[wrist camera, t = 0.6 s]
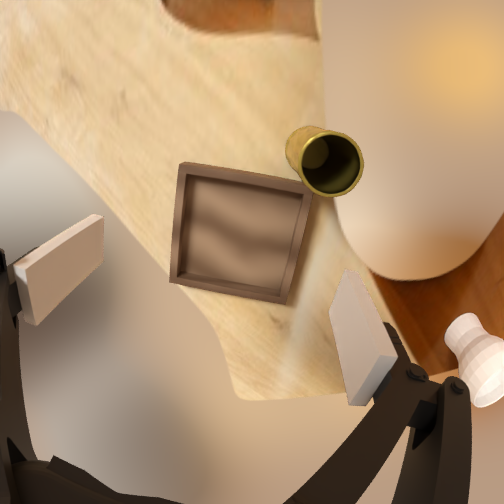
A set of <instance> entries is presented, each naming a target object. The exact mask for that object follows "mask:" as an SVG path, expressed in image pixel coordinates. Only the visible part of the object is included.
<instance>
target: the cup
mask: <svg viewBox="0 0 504 504" xmlns="http://www.w3.org/2000/svg"><path fill="white" fill-rule="evenodd" d="M444 340H445V343H446V345H447V346H448V347H449V348H450V349H451V351H452V352H453V353H454V354H455V355H456V357H457V360H458V362H459V369H458V373H459V379H461V380H463V382H465V383H466V385H467V386H468V388H469V391H470V401H471V402H472V403H473V404H474V405H475V406H476V407H485V406H488V405H490V404H492V403H494V402H496V401H497V400H499V399H500V398H501V397H502V396H504V340H503V339H501V338H499V337H497V336H493V335H490V334H489V333H487V332H486V331H485V330H484V329H483V327H482V325H481V323H480V321H479V319H478V318H477V316H476V315H475V314H473V313H465V314H463V315H461V316H459V317H458V318H456V319H455V320H454V321H453V322H452V323H451V324H450V326H449V327H448V329H447V331H446V333H445V338H444Z"/></svg>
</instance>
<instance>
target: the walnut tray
mask: <svg viewBox="0 0 504 504" xmlns="http://www.w3.org/2000/svg"><path fill="white" fill-rule="evenodd" d="M312 196H313V191H311V190H310V189H309V188H308V187H307V186H306V185H305V184H304V183H303V182H300V181H295V180H290V179H285V178H280V177H275V176H270V175H265V174H259V173H254V172H248V171H242V170H236V169H230V168H224V167H218V166H211V165H204V164H198V163H190V162H183V163H181V164H179V169H178V178H177V187H176V197H175V207H174V219H173V231H172V244H171V260H170V280H169V282H171V283H175V284H180V285H185V286H190V287H194V288H199V289H204V290H209V291H214V292H219V293H224V294H230V295H235V296H240V297H245V298H251V299H256V300H262V301H268V302H273V303H279V304H286V300H287V297H288V293H289V289H290V285H291V281H292V278H293V274H294V270H295V266H296V262H297V258H298V254H299V250H300V246H301V242H302V238H303V234H304V230H305V226H306V222H307V217H308V213H309V209H310V205H311V200H312Z"/></svg>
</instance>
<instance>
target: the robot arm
mask: <svg viewBox="0 0 504 504" xmlns="http://www.w3.org/2000/svg"><path fill="white" fill-rule="evenodd" d="M103 233H104V216H99V215H95V214H92V215H90V216H89V217H87V218H85V219H83V220H82V221H80V222H78V223H77V224H75V225H73V226H72V227H70V228H68V229H67V230H65V231H63V232H62V233H61V234H59V235H57V236H55V237H54V238H53V239H51V240H49V241H48V242H46V243H44V244H43V245H41V246H39V247H36V248H34V249H32V250H31V251H29V252H28V253H27V254H25V255H23V256H22V257H20V258H19V259H17V260H16V261H15V262H13V263H12V264H10V265H9V266H6V260H5V254H4V250H3V249H0V504H181V503H178V502H174V501H170V500H166V499H163V498H159V497H147V496H137V495H128V494H121V493H117V492H115V491H113V490H112V489H110V488H109V487H107V486H106V485H104V484H103V483H101V482H100V481H98V480H97V479H96V478H94V477H93V476H91V475H90V474H89V473H87V472H86V471H85V470H82V469H80V468H78V467H76V466H74V465H72V464H70V463H68V462H66V461H64V460H62V459H59V458H58V457H56V456H53V457H52V459H51V461H50V462H48V461H41V460H38V459H37V457H36V455H35V453H34V450H33V447H32V444H31V439H30V434H29V429H28V423H27V417H26V411H25V405H24V397H23V389H22V380H21V369H20V354H19V320H18V316H17V314H18V313H19V312H20V311H21V310H22V312H23V316H24V320H25V321H26V322H28V323H30V324H33V325H35V326H37V325H38V324H39V323H40V322H41V321H42V320H43V319H44V318H45V317H46V316H47V315H48V314H49V313H50V312H51V311H52V310H53V309H54V308H55V307H56V306H57V305H58V304H59V303H60V302H61V301H62V300H63V299H64V298H65V297H66V296H67V295H68V294H69V293H70V292H71V291H72V290H73V289H74V288H75V287H76V286H77V285H79V284H80V283H81V282H82V281H83V280H84V279H85V278H86V277H87V276H88V275H89V274H90V273H91V272H92V271H94V269H96V268H97V267H98V266H99V265H100V264H101V263H102V262H103V261H104V257H103ZM328 313H329V317H330V321H331V325H332V330H333V334H334V338H335V342H336V347H337V351H338V356H339V360H340V365H341V369H342V374H343V379H344V384H345V389H346V393H347V398H348V403H349V405H353V406H354V405H355V406H366V405H367V404H368V402H369V401H370V399H371V398H372V397H373V399H374V403H375V404H374V405H373V407H372V408H371V409H370V410H369V412H368V413H367V414H366V416H365V417H364V418H363V419H362V421H361V422H360V423H359V424H358V426H357V427H356V428H355V429H354V430H353V432H352V433H351V434H350V435H349V436H348V438H347V439H346V440H345V441H344V442H343V444H342V445H341V446H340V447H339V448H338V449H337V450H336V452H335V453H334V454H333V455H332V456H331V457H330V458H329V459H328V460H327V462H325V463H324V465H323V466H322V467H321V468H320V469H319V470H318V471H317V472H316V473H315V474H314V475H313V476H312V477H311V478H310V479H309V480H308V481H307V482H306V483H305V484H304V485H303V486H302V487H301V488H300V489H299V490H298V491H297V492H296V493H294V494H293V495H292V496H291V497H290V498H289V499H288V500H286V502H284V503H283V504H355V503H356V502H357V501H358V499H359V498H360V497H361V496H362V494H363V493H364V491H365V490H366V489H367V487H368V486H369V485H370V483H371V482H372V480H373V479H374V478H375V476H376V475H377V473H378V472H379V470H380V469H381V467H382V466H383V464H384V463H385V461H386V460H387V458H388V456H389V455H390V453H391V452H392V450H393V448H394V446H395V445H396V443H397V442H398V440H399V438H400V436H401V435H402V433H403V431H404V429H405V428H406V426H409V427H411V428H410V434H409V438H408V443H407V448H406V452H405V457H404V461H403V465H402V469H401V473H400V477H399V480H398V484H397V487H396V491H395V494H394V497H393V500H392V503H391V504H468V497H469V487H470V474H471V455H472V426H471V425H472V423H471V401H470V391H469V388H468V386H467V385H466V383H465V382H463V380H461V379H459V378H457V377H454V376H450V377H447V378H446V379H445V381H444V382H443V383H442V384H439V383H436V382H433V381H430V380H429V377H428V375H427V373H426V372H425V370H424V369H423V368H421V367H420V366H418V365H416V364H414V363H411V361H410V359H409V357H408V355H407V352H406V350H405V348H404V346H403V345H402V342H401V340H400V339H399V336H398V334H397V332H396V330H395V329H394V328H393V327H392V326H391V325H390V324H389V323H387V322H382V320H381V318H380V316H379V313H378V311H377V309H376V307H375V305H374V303H373V301H372V299H371V297H370V295H369V293H368V291H367V289H366V287H365V285H364V283H363V281H362V279H361V277H360V275H359V273H358V272H357V271H352V270H348V269H345V270H344V272H343V275H342V278H341V281H340V283H339V286H338V289H337V291H336V294H335V297H334V299H333V302H332V304H331V307H330V309H329V312H328Z"/></svg>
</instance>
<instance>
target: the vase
mask: <svg viewBox="0 0 504 504" xmlns="http://www.w3.org/2000/svg"><path fill="white" fill-rule="evenodd" d="M285 154H286V158H287V160H288V162H289V164H290V166H291V167H292V168H293V169H294V170H295V171H297V172H298V174H299V176H300V178H301V179H302V181H303V183H304V184H305V185H306V186H307V187H308V188H309V189H310V190H311V191H313V192H314V193H316V194H318V195H320V196H324V197H337V196H342V195H345V194H347V193H348V192H350V191H351V190H352V189H353V188H354V187H355V186H356V184H357V183H358V182H359V180H360V178H361V176H362V172H363V168H364V160H363V157H362V153H361V150H360V148H359V146H358V145H357V143H356V142H355V141H354V140H353V139H351V138H350V137H349V136H347V135H345V134H344V133H338V132H335V131H331V130H323V129H321V128H318V127H313V126H306V127H302V128H299V129H297V130H296V131H295V132H293V133H292V135H291V136H290V137H289V139H288V140H287V143H286V148H285Z"/></svg>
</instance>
